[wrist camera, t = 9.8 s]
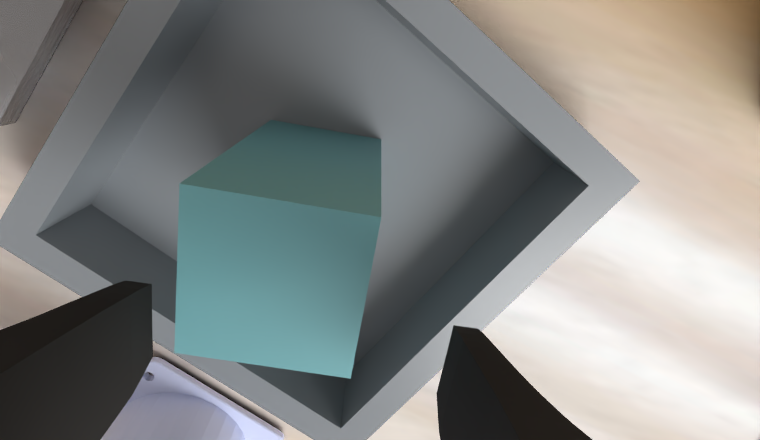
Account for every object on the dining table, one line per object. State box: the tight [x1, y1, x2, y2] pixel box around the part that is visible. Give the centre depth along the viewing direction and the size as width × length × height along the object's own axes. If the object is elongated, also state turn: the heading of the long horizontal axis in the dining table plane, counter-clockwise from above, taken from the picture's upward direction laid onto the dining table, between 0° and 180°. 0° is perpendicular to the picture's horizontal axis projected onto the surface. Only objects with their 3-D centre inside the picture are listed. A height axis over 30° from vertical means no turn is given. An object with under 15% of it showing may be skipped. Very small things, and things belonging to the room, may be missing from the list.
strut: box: [174, 120, 381, 379], centre depth 15 cm, size 4×4×9 cm
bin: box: [0, 0, 640, 440], centre depth 18 cm, size 16×16×4 cm
